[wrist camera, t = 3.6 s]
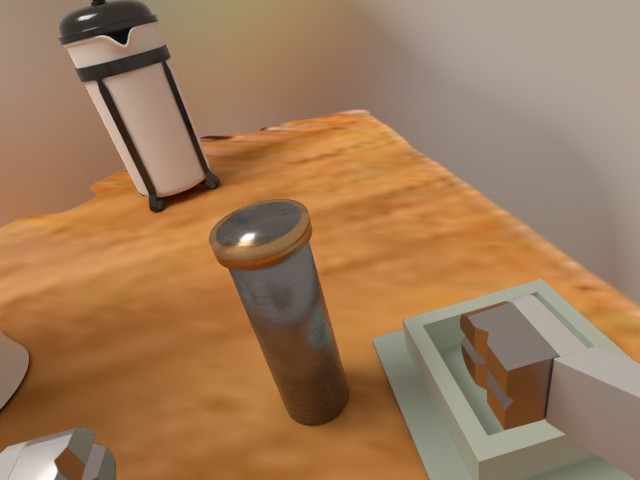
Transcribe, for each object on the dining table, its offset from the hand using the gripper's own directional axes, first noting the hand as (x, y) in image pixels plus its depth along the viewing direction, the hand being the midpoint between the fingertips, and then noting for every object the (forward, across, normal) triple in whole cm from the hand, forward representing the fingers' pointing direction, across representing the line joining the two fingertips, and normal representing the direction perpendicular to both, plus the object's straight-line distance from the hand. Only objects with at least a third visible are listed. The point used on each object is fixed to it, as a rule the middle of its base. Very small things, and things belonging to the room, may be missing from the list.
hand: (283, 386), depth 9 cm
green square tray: (+9, +11, -17) cm, 22 cm away
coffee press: (+60, -18, -17) cm, 65 cm away
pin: (+12, -1, -16) cm, 21 cm away
